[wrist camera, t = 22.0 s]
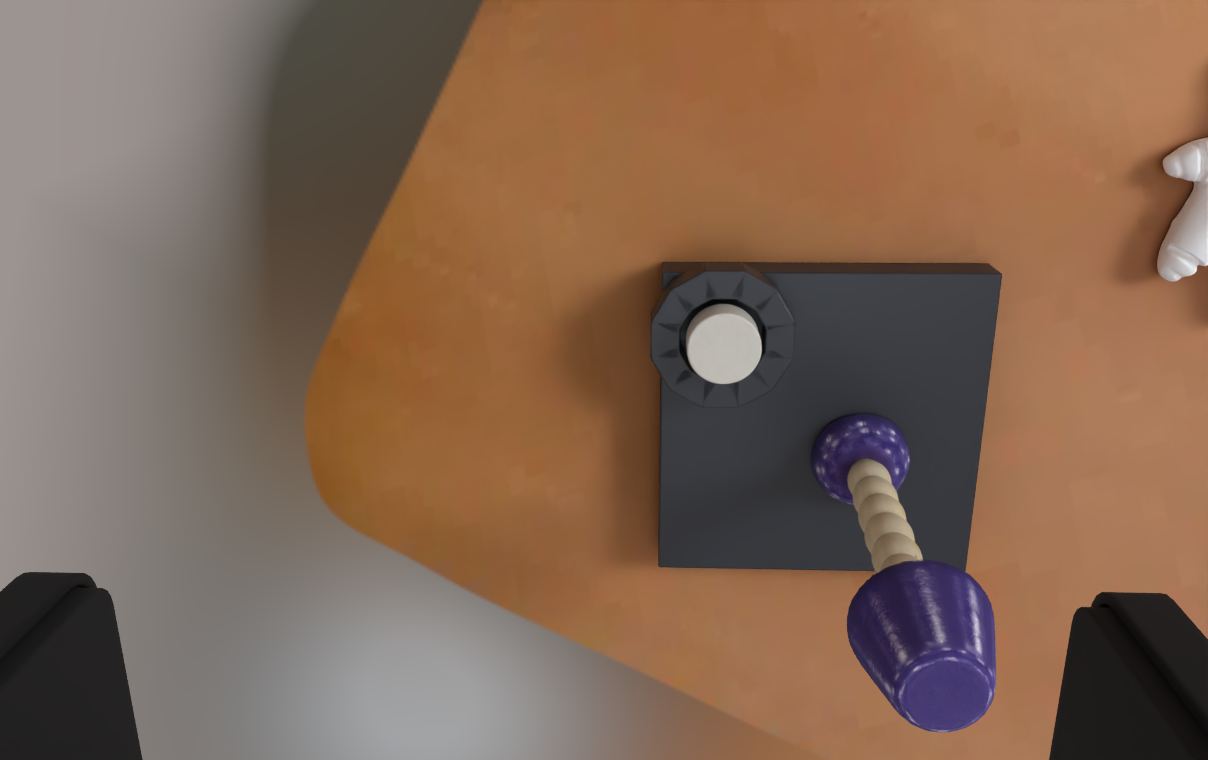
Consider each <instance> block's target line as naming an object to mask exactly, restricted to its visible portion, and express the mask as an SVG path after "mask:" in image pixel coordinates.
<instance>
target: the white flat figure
mask: <svg viewBox="0 0 1208 760" xmlns="http://www.w3.org/2000/svg"><path fill="white" fill-rule="evenodd" d="M1163 167H1164V170H1165V172H1166V173H1167V174H1168V175H1170V176H1173V177H1175V178H1181V179H1184V180H1187V181H1193V182H1194V188H1193V191H1192V193H1191V195H1190V196H1189V198H1188V199H1187V201H1186V202H1185V204H1184V206H1183V207H1182V209H1181V211H1180V212H1179V214H1178V215H1177V217H1176V218H1175V219H1174V220H1173V221H1172V223H1171V226H1170V229H1169V231H1168V233H1167V235H1166V237H1165V239H1164V241H1163V243H1162V245H1161V247H1160V250H1159V255H1158V260H1157V269H1158V272H1159V274H1160V276H1161V277H1162V278H1164V279H1165V280H1167V281H1171V282H1175V281H1178V280H1179V279H1180V278H1181V277H1185V276H1191V275H1193V274H1194V273H1195V272H1196V271H1197V266H1198V265H1201V266H1207V265H1208V138H1203V139H1198V140H1194V141H1191V142H1189V143H1187V144H1184V145H1183V146H1181V147H1179V148H1177V149H1176V150H1175V151H1174V152H1172V153H1171V154H1169V155H1167V156H1166V157H1165V158H1164V159H1163Z"/></svg>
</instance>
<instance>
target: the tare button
mask: <svg viewBox="0 0 1208 760" xmlns="http://www.w3.org/2000/svg"><path fill="white" fill-rule="evenodd" d="M686 348H687V356H688V360H689V363H690V365H691V367H692V368H693V370H694V371H695V372H696V373H697V374H698V375H699V376H700V377H702V378H703V379H705V380H707V381H709V382H712V383H717V384H730V383H734V382H738V381H740V380H742V379H744V378H745V377H747V376H748V375H749V374H750V373H751V372H752V371H753V370H754V369H755V368H756V366H757V364H758V363H759V360H760V357H761V352H762V343H761V338H760V335H759V332H758V329H757V326H756V324H755V321H754V320H753V318H752V317H751V316H750V315H749V314H748V313H747V312H746V311H744V310H743V309H741V308H739V307H737V306H734V305H730V304H716V305H712V306H709V307H707V308H705V309H703V310H701V311H700V312H699V313H698V314H697V315H696V316H695V317H694V318H693V319H692V321H691V322H690V324H689V326H688V329H687V333H686Z"/></svg>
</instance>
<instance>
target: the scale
mask: <svg viewBox="0 0 1208 760" xmlns="http://www.w3.org/2000/svg"><path fill="white" fill-rule="evenodd" d="M1001 280H1002V274H1001V273H1000V272H999V271H997V270H996V269H995V268H993V267H992V266H991V265H990V264H973V263H762V262H663V263H662V295H661V296H660V298H659V300H658V301H657V303H656V304H655V306H654V308H653V309H652V312H651V360H652V362H653V363H654V365H655V367H656V368H657V370H658V372H659V373H660V375H661V376H660V455H659V534H658V566H659V567H680V568H736V569H791V570H847V571H875V569H874V567H873V564H872V558H871V553H870V551H869V550H868V548H867V546H866V543H865V533H864V532H863V530H862V529H861V526H860V524H859V520H858V512H857V511H856V509H855V507H854V505H849V504H847V503H843V502H841V501H838V500H837V499H835V498H833V497H832V496H830V495H829V494H828V493H826V491H825V490H824V489H823V488H822V487H821V486H820V485H819V483H818V482H817V480H816V478H815V476H814V474H813V469H812V465H811V456H812V450H813V446H814V444H815V441H816V440H817V438H818V437H819V435H820V434H821V433H822V432H823V431H824V429H825V428H826V427H827V426H829V425H830V424H831V423H833V422H834V421H836V420H838V419H840V418H842V417H845V416H850V415H854V414H868V415H876V416H880V417H882V418H885V419H887V420H889V421H890V422H892V423H893V424H895V425H896V426H897V427H898V429H899V430H900V431H901V432H902V433H903V436H904V437H905V439H906V442H907V444H908V447H909V453H910V463H909V469H908V472H907V475H906V477H905V480H904V482H903V483H902V484H901V486H900V487H899V489H898V490H897V491H896V492H897V494H898V499H899V503H900V504H901V505H902V507H903V509H904V511H905V514H906V521H907V522H908V524H909V525H910V526H911V528H912V530H913V534H914V538H915V543H916V544H917V546H918V547H919V549H920V551H921V554H922V557H923V559H925V560H935V561H940V562H943V563H947V564H950V565H952V566H955V567H958V568H959V569H961V570H962V571H964V572H965V570H966V562H967V554H968V546H969V538H970V530H971V522H972V514H973V506H974V498H975V490H976V482H977V473H978V465H979V457H980V449H981V441H982V433H983V425H984V417H985V409H986V401H987V393H988V385H989V377H990V368H991V360H992V352H993V344H994V336H995V328H996V320H997V312H998V304H999V296H1000V288H1001ZM716 304H730V305H734V306H737V307H739V308H741V309H743V310H744V311H746V312H747V313H748V314H749V315H750V316H751V317H752V318H753V320H754V321H755V324H756V326H757V329H758V332H759V335H760V338H761V343H762V352H761V357H760V360H759V363H758V364H757V366H756V368H755V369H754V370H753V371H752V372H751V373H750V374H749V375H748V376H747V377H745V378H744V379H742V380H740V381H738V382H734V383H730V384H717V383H712V382H709V381H707V380H705V379H703V378H702V377H700V376H699V375H698V374H697V373H696V372H695V371H694V370H693V368H692V367H691V365H690V363H689V360H688V356H687V348H686V333H687V329H688V326H689V324H690V322H691V321H692V319H693V318H694V317H695V316H696V315H697V314H698V313H699V312H700V311H701V310H703V309H705V308H707V307H709V306H712V305H716Z"/></svg>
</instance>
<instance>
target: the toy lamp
mask: <svg viewBox="0 0 1208 760" xmlns="http://www.w3.org/2000/svg"><path fill="white" fill-rule="evenodd" d="M909 463H910V453H909V447H908V444H907V442H906V439H905V437H904V436H903V433H902V432H901V431H900V430H899V429H898V427H897V426H896V425H895V424H893V423H892V422H890V421H889V420H887V419H885V418H882V417H880V416H876V415H868V414H854V415H850V416H845V417H842V418H840V419H838V420H836V421H834V422H833V423H831V424H830V425H829V426H827V427H826V428H825V429H824V431H823V432H822V433H821V434H820V435H819V437H818V438H817V440H816V441H815V444H814V446H813V450H812V456H811V465H812V469H813V474H814V476H815V478H816V480H817V482H818V483H819V485H820V486H821V487H822V488H823V489H824V490H825V491H826V493H828V494H829V495H830V496H832V497H833V498H835V499H837V500H838V501H841V502H843V503H847V504H849V505H854V507H855V509H856V511H857V512H858V520H859V524H860V526H861V529H862V530H863V532H864V533H865V543H866V546H867V548H868V550H869V551H870V553H871V558H872V564H873V567H874V569H875V571H876V574H875V575H873V576H872V577H871V578H870V579H869V580H867V581H866V582H865V584H863V585H862V586H861V587H860V588H859V590H858V592H857V593H856V595H855V596H854V598H853V599H852V601H851V604H850V607H849V611H848V616H847V632H848V638H849V642H850V645H851V647H852V649H853V652H854V654H855V655H856V657H857V659H858V660H859V662H860V663H861V665H862V666H863V668H864V669H865V670H866V672H867V673H868V674H869V676H870V677H871V679H872V680H873V681H874V683H875V684H876V685H877V686H878V688H879V689H880V690H881V692H882V693H883V694H884V696H885V697H886V698H887V699H888V701H889V702H890V703H891V705H892V706H893V707H894V708H895V710H896V711H897V712H898V713H899V714H900V715H901V716H902V717H903V718H904V719H906V720H907V721H908V722H909V723H911V724H912V725H915V726H917V727H919V728H922V729H924V730H927V731H933V732H951V731H956V730H960V729H963V728H966V727H968V726H970V725H971V724H973V723H975V722H976V721H977V720H979V719H980V718H981V717H982V716H983V715H984V714H985V713H986V711H987V710H988V708H989V706H990V705H991V703H992V700H993V697H994V694H995V686H996V648H995V623H994V614H993V610H992V606H991V603H990V601H989V599H988V597H987V595H986V593H985V592H984V590H983V589H982V588H981V586H980V585H979V584H978V583H977V582H976V581H975V580H974V579H973V578H972V577H971V576H970V575H969V574H967V573H966V572H964V571H962V570H961V569H959V568H958V567H955V566H952V565H950V564H947V563H943V562H940V561H935V560H925V559H923V557H922V554H921V551H920V549H919V547H918V546H917V544H916V543H915V538H914V534H913V530H912V528H911V526H910V525H909V524H908V522H907V521H906V514H905V511H904V509H903V507H902V505H901V504H900V503H899V499H898V494H897V492H896V491H897V490H898V489H899V487H900V486H901V484H902V483H903V482H904V480H905V477H906V475H907V472H908V469H909Z"/></svg>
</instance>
